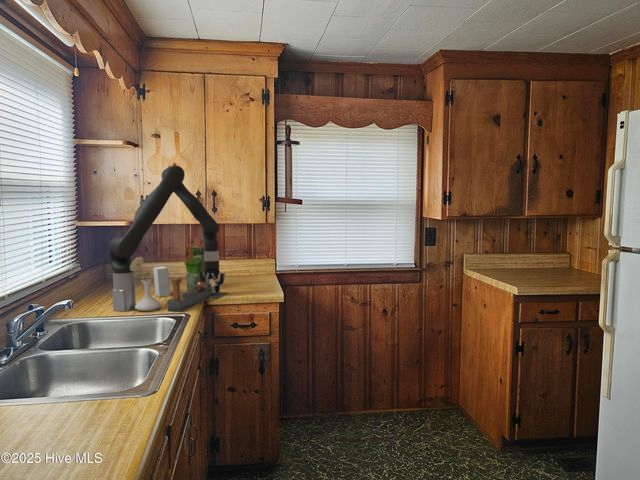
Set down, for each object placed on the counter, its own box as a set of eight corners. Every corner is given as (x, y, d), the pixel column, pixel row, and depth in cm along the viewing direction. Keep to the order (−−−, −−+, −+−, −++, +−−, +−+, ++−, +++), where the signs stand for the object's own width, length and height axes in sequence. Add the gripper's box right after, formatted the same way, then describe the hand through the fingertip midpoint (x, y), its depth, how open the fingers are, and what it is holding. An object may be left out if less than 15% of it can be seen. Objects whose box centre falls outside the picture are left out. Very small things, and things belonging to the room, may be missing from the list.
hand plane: (180, 312, 214) (179, 280, 213) (167, 311, 216) (166, 279, 214) (209, 299, 239) (208, 270, 238) (197, 298, 241) (196, 270, 239)
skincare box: (170, 296, 247) (169, 267, 245) (158, 297, 243) (157, 268, 242) (165, 293, 254) (164, 265, 252) (154, 294, 250) (152, 266, 249)
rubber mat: (217, 298, 240) (217, 297, 240) (196, 297, 243) (196, 296, 243) (228, 293, 251) (228, 292, 251) (208, 292, 255) (208, 291, 255)
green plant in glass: (207, 291, 258) (205, 245, 255) (184, 292, 255) (182, 245, 253) (207, 287, 269) (206, 242, 266) (185, 288, 266) (183, 243, 264)
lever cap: (212, 292, 242) (211, 284, 241) (203, 292, 243) (203, 284, 242) (221, 288, 251) (221, 280, 251) (212, 288, 252) (212, 280, 252)
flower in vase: (152, 305, 227) (150, 253, 225) (166, 309, 220) (163, 255, 217) (126, 310, 217) (123, 256, 215) (139, 314, 210) (136, 258, 207)
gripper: (195, 260, 244) (196, 292, 245) (220, 261, 240) (221, 294, 242) (202, 258, 251) (203, 289, 253) (227, 259, 247) (228, 291, 249)
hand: (212, 291), depth 247 cm, fingers closed on lever cap, 5 cm apart
